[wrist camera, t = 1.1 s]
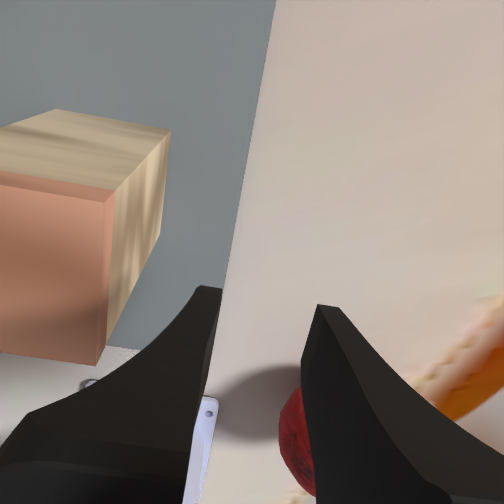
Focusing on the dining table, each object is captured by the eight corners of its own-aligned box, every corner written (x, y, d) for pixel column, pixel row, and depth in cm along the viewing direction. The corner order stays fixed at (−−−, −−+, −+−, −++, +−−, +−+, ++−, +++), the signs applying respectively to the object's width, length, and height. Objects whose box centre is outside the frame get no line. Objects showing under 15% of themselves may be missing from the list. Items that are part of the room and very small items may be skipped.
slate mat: (211, 355, 27) (210, 360, 26) (-152, 299, 25) (-160, 305, 25) (284, -51, 18) (285, -53, 17) (-273, -173, 16) (-289, -179, 16)
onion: (260, 403, 28) (262, 534, 21) (301, 333, 26) (318, 454, 19) (345, 431, 29) (373, 564, 22) (392, 365, 27) (440, 492, 20)
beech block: (160, 233, 22) (95, 365, 13) (55, 215, 22) (-85, 339, 13) (171, 129, 20) (103, 202, 11) (56, 108, 20) (-111, 165, 11)
